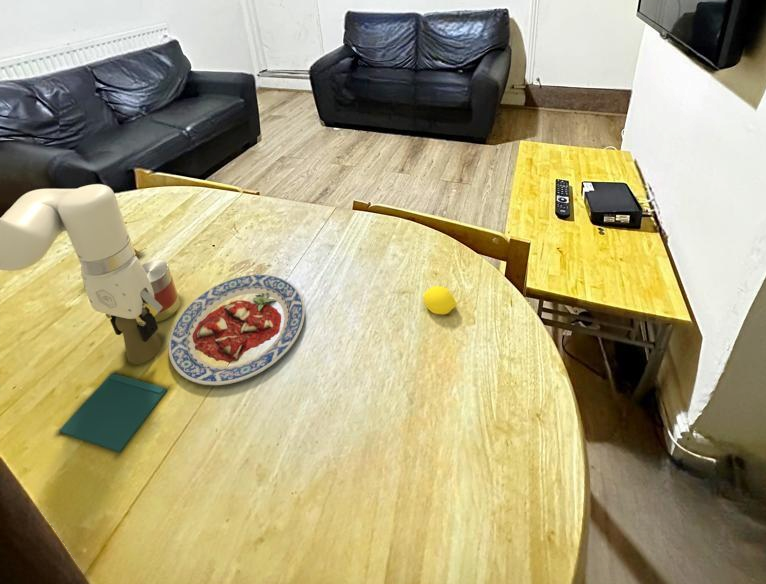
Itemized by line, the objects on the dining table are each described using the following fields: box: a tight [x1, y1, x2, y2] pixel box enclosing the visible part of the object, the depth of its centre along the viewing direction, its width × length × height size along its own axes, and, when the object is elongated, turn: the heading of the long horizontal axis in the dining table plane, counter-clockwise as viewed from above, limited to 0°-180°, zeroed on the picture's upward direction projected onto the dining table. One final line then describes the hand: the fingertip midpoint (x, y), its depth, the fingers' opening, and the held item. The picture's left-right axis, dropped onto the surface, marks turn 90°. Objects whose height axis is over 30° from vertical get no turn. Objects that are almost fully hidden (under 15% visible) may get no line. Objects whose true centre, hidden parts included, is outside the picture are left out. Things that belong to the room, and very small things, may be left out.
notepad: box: [58, 372, 168, 454], centre depth 68 cm, size 12×10×1 cm
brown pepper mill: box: [115, 308, 163, 365], centre depth 77 cm, size 6×6×11 cm
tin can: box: [141, 259, 181, 323], centre depth 86 cm, size 7×7×11 cm
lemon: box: [422, 285, 458, 316], centre depth 85 cm, size 7×5×5 cm
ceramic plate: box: [167, 274, 306, 386], centre depth 82 cm, size 26×26×3 cm
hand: (137, 331), depth 77 cm, fingers closed on brown pepper mill, 5 cm apart
